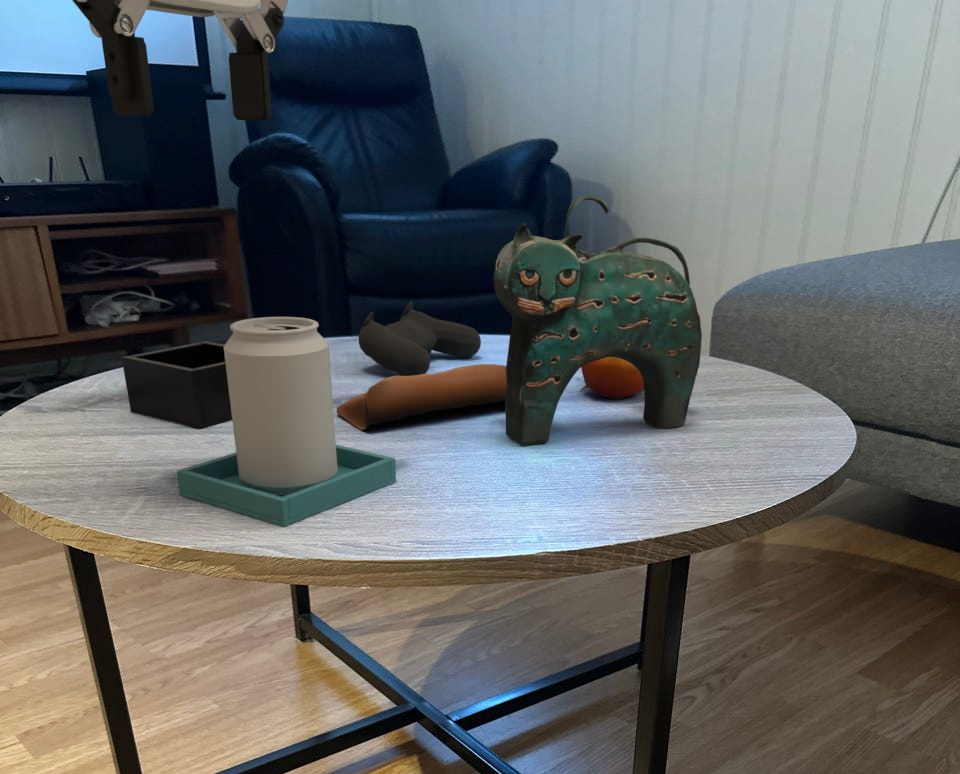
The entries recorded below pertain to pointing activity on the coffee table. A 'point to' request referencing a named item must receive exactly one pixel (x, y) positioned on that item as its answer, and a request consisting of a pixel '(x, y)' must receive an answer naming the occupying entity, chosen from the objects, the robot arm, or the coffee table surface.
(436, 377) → the sunglasses case
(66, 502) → the coffee table surface
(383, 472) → the tray
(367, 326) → the gaming controller
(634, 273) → the ceramic cat
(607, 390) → the fruit
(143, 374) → the box
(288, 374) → the can
